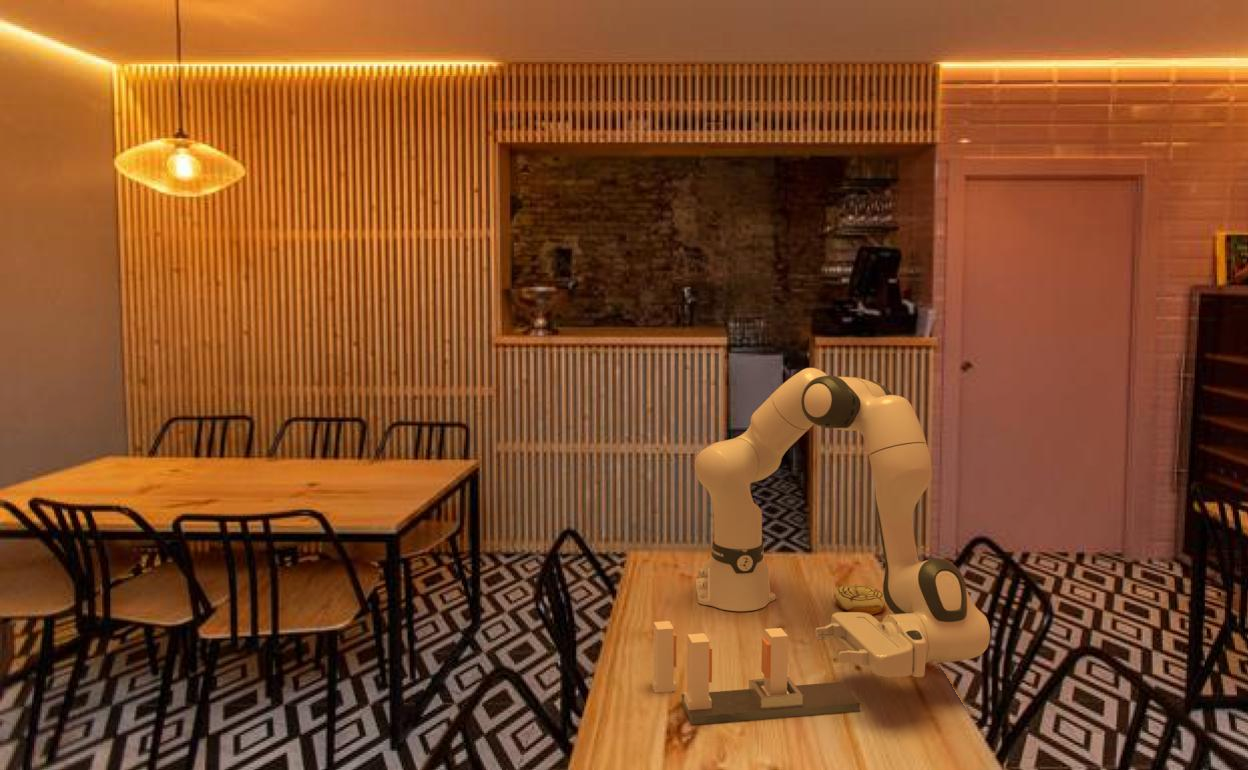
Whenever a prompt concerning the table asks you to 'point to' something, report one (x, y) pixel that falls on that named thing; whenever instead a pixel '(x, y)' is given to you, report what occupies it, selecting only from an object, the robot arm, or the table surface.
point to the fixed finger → (698, 672)
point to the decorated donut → (859, 599)
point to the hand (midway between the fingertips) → (826, 644)
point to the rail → (774, 703)
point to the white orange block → (664, 657)
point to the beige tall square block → (774, 662)
